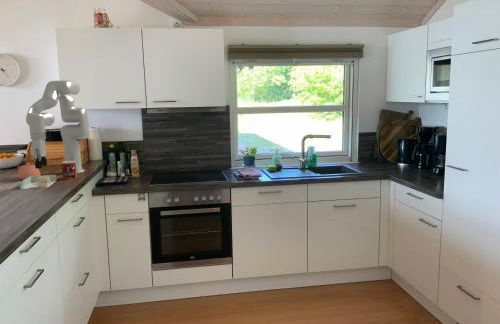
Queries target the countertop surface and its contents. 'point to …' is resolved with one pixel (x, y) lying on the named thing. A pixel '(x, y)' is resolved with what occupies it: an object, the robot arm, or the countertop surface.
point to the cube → (43, 181)
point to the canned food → (69, 170)
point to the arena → (35, 182)
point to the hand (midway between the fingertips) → (41, 166)
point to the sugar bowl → (27, 171)
